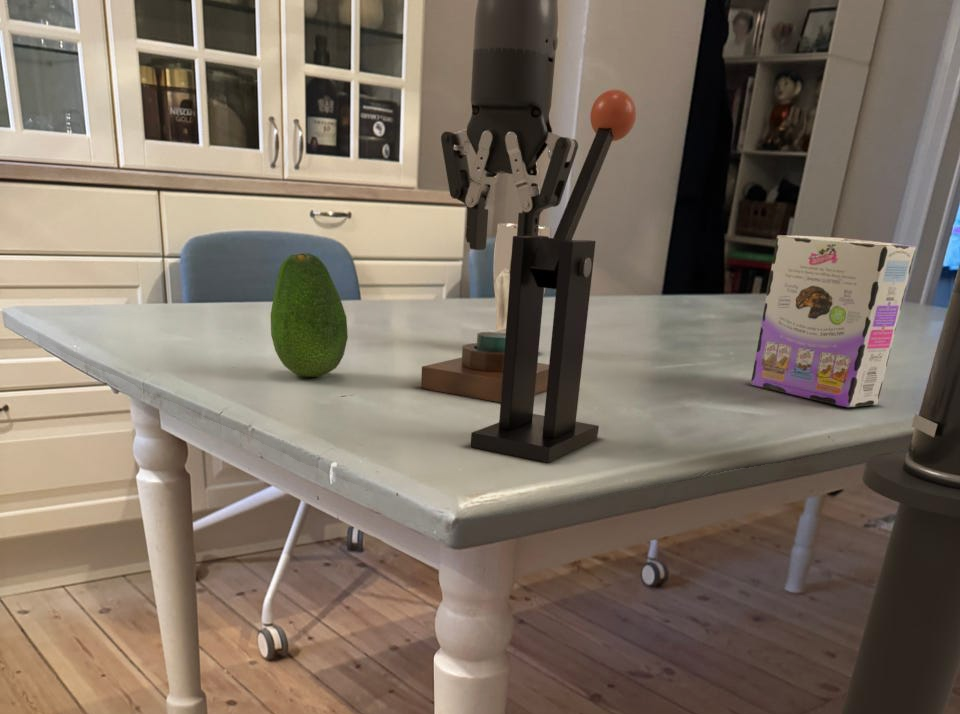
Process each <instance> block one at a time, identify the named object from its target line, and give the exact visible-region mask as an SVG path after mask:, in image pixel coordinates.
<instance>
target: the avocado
mask: <svg viewBox="0 0 960 714" xmlns="http://www.w3.org/2000/svg"><path fill="white" fill-rule="evenodd" d="M325 265H326V264H324V262H323V261H322V260H321V259H320V258H319V257H318V256H316V255H314V254H311V253H309V252H304V253H297V254H296V253H295V254H290V255H289V256H288V257H286V259H285V260H283V261H282V263H281V264H280V267H279V270H278V273H277V275H276V276H277V277H276V282H275V286H274V294H273V297H272V305H271V310H270V336H271V340H272V344H273V347H274V351H275V353H276V355H277V356H278V359H279V360H280V362H281V364H282V365H283V367H285V368H286V369H288V370H289V371H290V372H292V373H293V374H295V375H296V376H298V377H303V378H308V379H309V378H316V377H322V376H324V375H327V374H329V373H331V372H332V371H334V370H336V369H337V368H338V366H339V365H340V363H341V361H342V360H343V358H344V356H345V351H346V347H347V342H348V338H349V335H348V321H347V320H348V319H347V315H346V312H345V311H346V310H345V309H344V306H343V303H342V299H341V296H340V294H339V292H338V290H337V287H336V285H335V283H334V281H333V278H332V277H331V274H330V273H329V271H328V268H327V266H325Z"/></svg>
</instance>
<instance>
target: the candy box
mask: <svg viewBox="0 0 960 714" xmlns="http://www.w3.org/2000/svg"><path fill="white" fill-rule="evenodd" d="M916 248H917V246H915V245H908V244H900V243H894V242H893V243H892V242H884V241H875V240H865V239H854V238H846V237H845V238H844V237H833V236H832V237H831V236H815V235H779V234H778V235H777V236H776V239H775V246H774V252H773V258H772V262H771V267H770V274H769V280H768V285H767V292H766V296H765V300H764V307H763V313H762V319H761V323H760V324H761V325H760V330H759V334H758V335H759V337H758V342H757V347H756V353H755V359H754V364H753V369H752V374H751V378H750V385H751V386H755V387H759V388H762V389H767V390H772V391H776V392H780V393H784V394H788V395H793V396H796V397H800V398H805V399H810V400H814V401H817V402H822V403H827V404H831V405H834V406H839V407H845V408H857V407H863V406H864V407H866V406H867V407H868V406H877V405H878V402H879V399H880V394H881V391H882V386H883V383H884V378H885V375H886V370H887V366H888V362H889V358H890V356H891V355H890V354H891V350H892V346H893V342H894V338H895V334H896V329H897V326H898V323H899V318H900V315H901V311H902V304H903V301H904V297H905V293H906V290H907V285H908V282H909V277H910V272H911V270H912V269H911V268H912V263H913V260H914V258H915V257H914V256H915V252H916Z"/></svg>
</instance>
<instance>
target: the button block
mask: <svg viewBox="0 0 960 714" xmlns="http://www.w3.org/2000/svg"><path fill="white" fill-rule="evenodd" d="M461 348H462V349H461V350H462V351H461V357H458V358H453V359H449V360H444V361H439V362H436V363H431V364H427V365H423V366H421V380H420V388H421V389H423V390H429V391H434V392H440V393H445V394H451V395H457V396H462V397H468V398H473V399H479V400H485V401H489V402H490V401H491V402H494V403H495V402H496V403H500V404H501V392H502V378H503V364H504V352H491V351H483V350H478V349H477V342H475V343H474V342H473V343H467V344H462V347H461ZM548 372H549V363H543V362H538V363H537V374H536V385H535V395H537V394H539V393H543V392H545V391H546V392H547V382H548Z"/></svg>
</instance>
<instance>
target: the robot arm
mask: <svg viewBox="0 0 960 714" xmlns="http://www.w3.org/2000/svg"><path fill="white" fill-rule="evenodd" d="M558 2H559V1H558V0H477V2H476V10H475V17H474V28H473V29H474V31H473V47H472V48H473V49H472V51H473V52H472V65H471V66H472V67H471V68H472V69H471V87H470V88H471V89H470V105H471V116H470V118H469V122H467V125H466V128H464V129H461V130H458V131H455V132H453V131H443V132H442V134H441V136H440V142H441V148H442V155H443V160H444V166H445V171H446V178H447V184H448V190H449V195H450V197H451V198H452V199H454V200H458V201H460V202H461V203H463V204H464V205H465V207H466V226H465V227H466V228H465V239H466V242H467V243H469V249H470V250H474V251H484V250H485V249H486V247H487V238H488V223H489V209H487V208H486V207H487V205H488V204H489V201H490V197H491V194H492V190H493V188H494V187H495V185H496V184H497V183H498V181H499V177H500V174H508V175H512V178H513V183H514V186H515V187H516V188H517V193H518V198H519V203H520V208H521V210H522V211H521V212H518V215H517V224H518V228H517V236H537V235H538V229H539V226H540V217H541V214H542V212H543V211H544V210H546V209H547V210H548V209H550V208H552V207H553V208H556V207H558V206H559V205H560V204H561V202H562V198H563V195H564V192H565V189H566V185H567V183H568V179H569V177H570V173H571V170H572V168H573V165H574V161H575V158H576V155H577V152H578V148H579V143H578V141H577V140H576V139H575V138H571V137H567V136H565V137H564V136H562V135H559V134H557V133H554V132H553V128H552V125H551V122H550V112H551V108H552V100H553V87H554V75H555V66H556V65H555V64H556V54H557V53H556V52H557V50H558V49H557V48H558V42H559V41H558V28H559V27H558V26H559V9H558V8H559V7H558V6H559V5H558ZM470 145H471V147H472V149H473V151H474V153H475V155H476V156H475V159H474V162H473V166H472V169H471V172H470V168H469V161H468V153H469V152H470ZM547 147H548V150H547V156H548V158H549V164H548V166H547V170H546V173H545V176H544V179H543V183H542V177H541V172H540V167H539V159H540V157H541V156H542V154H543V153H544V151H545V150H546V149H547ZM541 185H542V186H541ZM911 427H912V428H914V430H913V434H912V437H911V440H910V442H909V445H908V452H906V453H907V455H906V458H905V462H904V465H903V468H904V470H905V471H906V472H908V473H909V474H911V475H913V476H915V477H917V478H919V479H922V480H925V481H928V482H931V483H934V484H938V485H942V486H946V487H951V488H955V489H960V263H959V265H958V268H957V272H956V276H955V280H954V283H953V285H952V290H951V294H950V297H949V301H948V305H947V308H946V312H945V315H944V320H943V323H942V327H941V331H940V333H939V337H938V342H937V346H936V349H935V352H934V356H933V360H932V364H931V367H930V371H929V374H928V378H927V381H926V385H925V389H924V393H923V397H922V400H921V404H920V408H919V412H918V414H917V413H914V415H913V420H912V422H911Z"/></svg>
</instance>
